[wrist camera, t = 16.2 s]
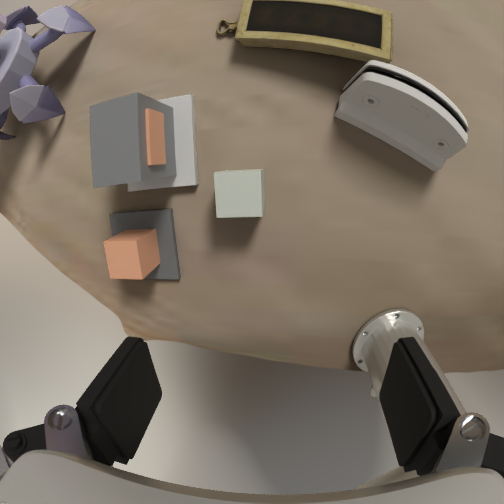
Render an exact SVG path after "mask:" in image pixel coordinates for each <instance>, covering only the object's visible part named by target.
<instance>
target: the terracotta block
mask: <svg viewBox="0 0 504 504" xmlns="http://www.w3.org/2000/svg"><path fill="white" fill-rule="evenodd" d="M104 247H105V253H106V258H107V263H108V268H109V273H110V278H114V279H144V278H145V277H146V276H147V275H148V274H149V273H150V272H151V271H152V270H153V269H155V268H156V267H157V266H158V265H159V264H160V256H159V249H158V241H157V233H156V229H137V230H125V231H123V232H121V233H119V234H117V235H115V236H113V237H111V238H109V239H108V240H106V241H104Z"/></svg>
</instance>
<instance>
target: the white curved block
mask: <svg viewBox="0 0 504 504" xmlns="http://www.w3.org/2000/svg"><path fill="white" fill-rule="evenodd" d="M342 90H344V93H343V94H342V95H341V96H340V97H339V107H338V109H337V111H336V112H335V117H337V118H339V119H341V120H343V121H346V122H348V123H350V124H352V125H354V126H356V127H358V128H360V129H362V130H364V131H366V132H368V133H369V134H371V135H373V136H375V137H377V138H379V139H381V140H382V141H384V142H386V143H388V144H390V145H391V146H393V147H395V148H397V149H398V150H400V151H402V152H403V153H405V154H407V155H408V156H410V157H412V158H413V159H415V160H416V161H418V162H420V163H421V164H423V165H424V166H426V167H427V168H429V169H430V170H432V171H433V172H434V171H436V170H439V169H440V168H441V167H442V166H443V164H444V163H445V161H446V160H447V159H449V158H450V157H451V156H453V155H454V154H456V153H457V152H459V151H460V150H462V149H463V148H464V147H465V146H466V144H467V140H468V135H467V132H468V124H467V120H466V119H465V117H464V116H463V114H462V113H461V112H460V110H459V109H458V108H457V107H456V106H455V105H454V104H453V102H452V101H451V100H450V99H448V98H447V97H446V96H445V95H444V94H443V93H442V92H440V91H439V90H438V89H437V88H435V87H434V86H433V85H431V84H430V83H428V82H426V81H425V80H423V79H422V78H420V77H418V76H416V75H414V74H412V73H410V72H408V71H406V70H404V69H401V68H399V67H396V66H393V65H390V64H387V63H384V62H380V61H376V60H370V61H368V62H367V63H366V64H365V65H364V66H363V67H362V68H361V69H360V70H359V71H358V72H357V73H356V74H355V75H354V76H353V77H352V78H351V79H350V80H349V81H348V82H347V83H346V85H345V86H344V87H343V89H342Z"/></svg>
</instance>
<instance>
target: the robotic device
mask: <svg viewBox="0 0 504 504" xmlns="http://www.w3.org/2000/svg"><path fill="white" fill-rule="evenodd" d="M36 23H42V24H43V25H45V26H46V27H47V28H50V29H48V30H47V31H45V32H44V33H42V34H40V35H39V36H37V37H36V38H32V37H31V36H30V35H28V34H27V33H26V27H25V25H29V24H36ZM3 29H6V30H10V29H12V30H10V31H9V32H7V33H6V34H5V35H4V36H3V37H2V38H1V39H0V129H1V128H2V127H3V125H4V123H5V120H6V118H7V113H8V108H9V107H10V106H11V108H12V112H13V113H14V115H15V116H16V117H17V119H18V120H19V121H22V123H23V124H24V123H30V122H36V121H42V120H46V119H50V118H53V117H56V116H59V115H62V114H65V110H64V109H63V107H62V105H61V103H60V102H59V100H58V99H57V97H56V96H55V94H54V93H53V91H52V90H51V88H50V87H49V86H45V87H44V85H39V84H38V83H37V82H36V81H35V79H34V78H33V77H32V76H31V74H32V72H33V70H34V68H35V66H36V62H37V59H38V56H39V51H40V50H41V49H43V48H44V47H46V46H47V45H49V44H51V43H52V42H54V41H55V40H57V39H58V38H59V37H60V36H61V35H62V34H63V33H64V34H69V33H76V32H86V31H96V30H95V29H94V28H93V26H92V25H91V24H90V23H89V22H88V21H87V20H86V19H85V18H84V17H83V16H82V15H81V14H79V13H78V12H76V11H75V10H73V9H71V8H70V7H68V6H65V7H64V6H63V5H62V6H58V7H54V8H51V9H49V10H47V11H46V12H45V13H43V14H41V15H40V16H39V17H38V16H37V14H36V13H35V12H34V11H33V10H32V9H31V8H30V7H29V6H28V7H25V6H24V7H22V8H19V9H17V10H14V11H13V12H11V13H10V14H8V15H7V16H3V15H1V14H0V33H1V31H2V30H3ZM14 137H15V136H11V135H8V134H5V133H3V132H1V131H0V140H9V139H12V138H14Z"/></svg>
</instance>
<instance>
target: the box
mask: <svg viewBox="0 0 504 504" xmlns="http://www.w3.org/2000/svg"><path fill="white" fill-rule="evenodd" d="M224 22H227V23H228V24H229V27H228V29H226V30H224V31H223V32H220V30H221V26H222V24H223V23H224ZM228 31H229V32H235V31H236V35H235V39H236V40H237V41H239V42H240V43H241V44H242V45H243V46H245V47H271V48H286V49H295V50H303V51H311V52H318V53H324V54H330V55H335V56H341V57H346V58H351V59H356V60H360V61H364V62H368V61H370V60H376V61H380V62H384V63H387V64H388V63H390V61H392V55H393V14H392V13H391V12H390V11H386V10H382V9H378V8H374V7H370V6H365V5H360V4H355V3H350V2H344V1H339V0H244V1H243V4H242V8H241V12H240V17H239V21H238V22H237V23H236V22H229V21H227V20H226V19H221V20H220V21H219V23H218V26H217V32H218V34H219V35H224V34H226V33H227V32H228Z"/></svg>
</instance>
